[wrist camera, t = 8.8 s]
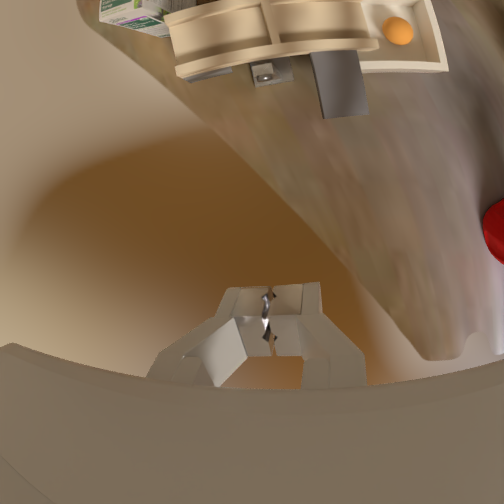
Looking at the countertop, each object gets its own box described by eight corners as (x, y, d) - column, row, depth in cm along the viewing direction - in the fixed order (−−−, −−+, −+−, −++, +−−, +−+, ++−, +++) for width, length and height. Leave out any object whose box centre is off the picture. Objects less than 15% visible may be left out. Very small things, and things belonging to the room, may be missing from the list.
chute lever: (204, 138, 32) (194, 145, 26) (179, 33, 26) (163, 15, 19) (364, 111, 31) (391, 113, 24) (340, 10, 24) (362, -10, 18)
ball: (374, 15, 23) (403, 11, 20) (385, 22, 25) (412, 19, 22) (381, 43, 24) (412, 41, 22) (392, 48, 27) (419, 46, 24)
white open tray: (317, 2, 25) (317, -11, 21) (415, 2, 22) (427, -8, 17) (336, 74, 30) (339, 71, 26) (433, 73, 27) (448, 71, 22)
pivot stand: (238, 14, 28) (215, -9, 20) (275, 6, 27) (263, -21, 18) (256, 88, 33) (239, 85, 25) (294, 82, 32) (289, 75, 24)
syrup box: (160, 39, 31) (96, 24, 19) (161, 5, 28) (101, -19, 16) (196, 32, 30) (141, 9, 18) (197, -2, 27) (146, -36, 15)
